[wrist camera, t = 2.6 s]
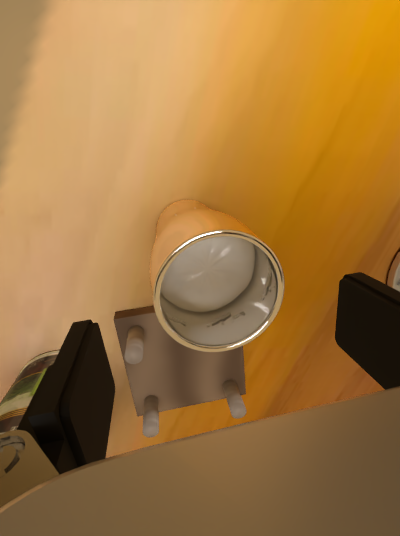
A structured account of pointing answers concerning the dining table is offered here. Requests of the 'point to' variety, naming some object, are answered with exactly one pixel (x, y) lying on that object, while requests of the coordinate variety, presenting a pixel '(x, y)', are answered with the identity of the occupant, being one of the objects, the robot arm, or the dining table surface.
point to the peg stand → (174, 370)
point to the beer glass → (212, 278)
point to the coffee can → (23, 391)
